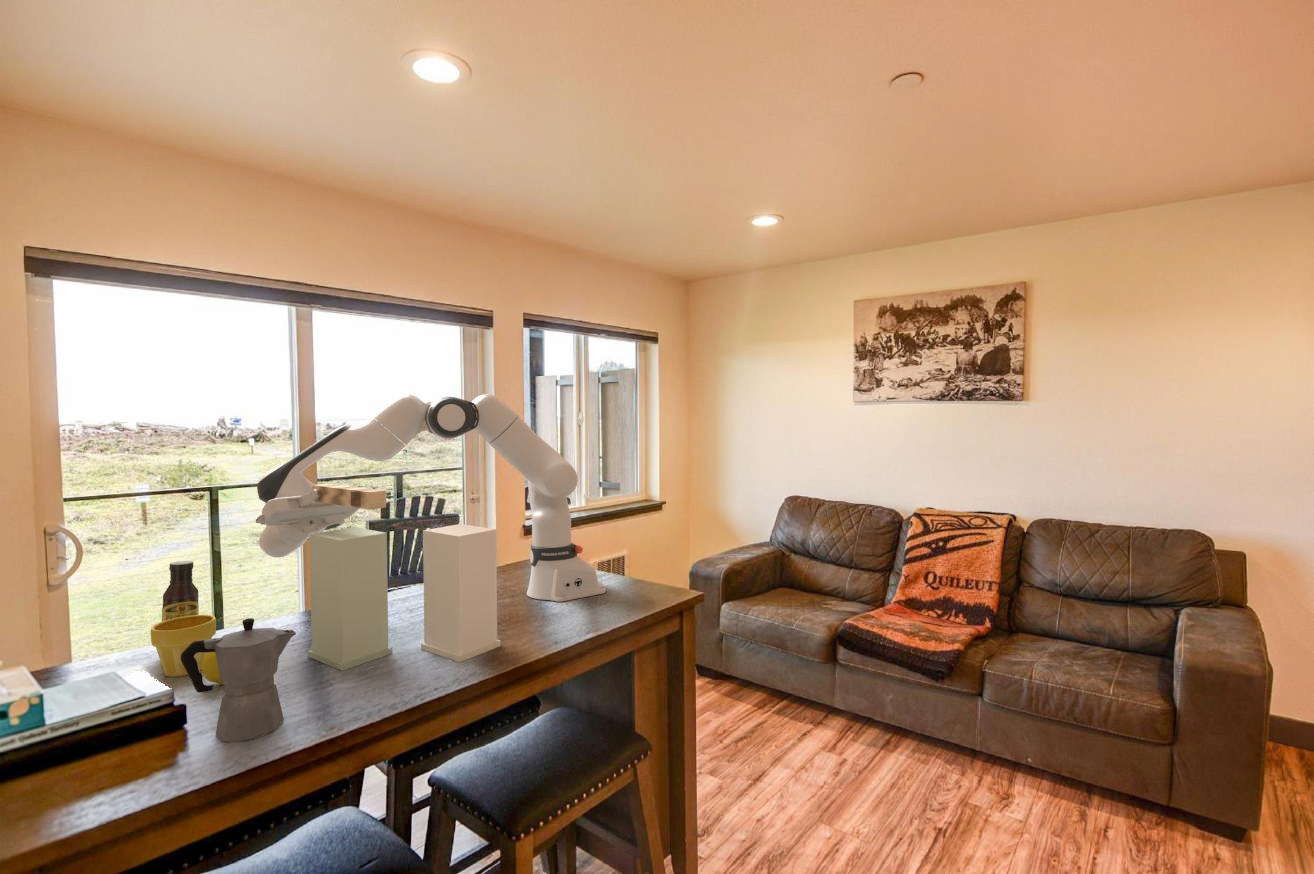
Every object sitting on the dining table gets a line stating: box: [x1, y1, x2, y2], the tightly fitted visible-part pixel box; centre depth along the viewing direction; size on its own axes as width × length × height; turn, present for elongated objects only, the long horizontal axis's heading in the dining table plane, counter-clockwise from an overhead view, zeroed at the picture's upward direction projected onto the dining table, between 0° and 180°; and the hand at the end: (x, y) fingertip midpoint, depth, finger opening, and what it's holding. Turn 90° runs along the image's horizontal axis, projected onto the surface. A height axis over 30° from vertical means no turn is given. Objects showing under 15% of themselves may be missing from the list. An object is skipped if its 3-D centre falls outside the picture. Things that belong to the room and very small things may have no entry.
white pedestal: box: [420, 523, 502, 663], centre depth 136 cm, size 13×11×26 cm
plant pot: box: [150, 614, 217, 678], centre depth 124 cm, size 10×10×10 cm
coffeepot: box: [181, 618, 297, 743], centre depth 100 cm, size 15×9×18 cm, turn 122°
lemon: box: [201, 652, 224, 686], centre depth 118 cm, size 6×6×8 cm
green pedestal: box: [307, 527, 393, 671], centre depth 132 cm, size 13×11×26 cm
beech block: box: [312, 483, 387, 510], centre depth 131 cm, size 22×4×4 cm, turn 56°
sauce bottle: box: [161, 560, 200, 622], centre depth 132 cm, size 6×6×20 cm
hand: (329, 491), depth 135 cm, fingers closed on beech block, 3 cm apart
